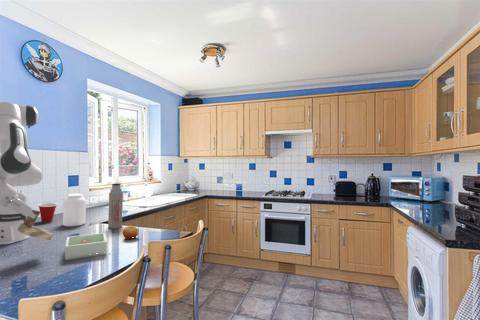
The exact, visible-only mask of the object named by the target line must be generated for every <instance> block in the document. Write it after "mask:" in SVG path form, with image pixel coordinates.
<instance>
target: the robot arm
mask: <svg viewBox="0 0 480 320" xmlns="http://www.w3.org/2000/svg"><path fill="white" fill-rule="evenodd" d="M39 118H40V115H39V112H38V110H37V108H36V106H32V105H29V104H27V105H25V104H19V103H13V102H11V101H0V245H9V244H13V243H16V242H20V241H25V240H27V239H30V237H31V236H29V235H24V234H21V233H20V232H19V231H17V229H18V227H19V226H20V224H21V223H24V221H25V219H26V218H27V216H29V217H31V218H32V219H34V218H35V217H36V215H35V214H34V213H33V212H32V211H33V209H34V208H32V207H31V206H29V204H28V199H27V196H25V195H24V194H22V193H19V191H18V189H17V188H16V187H28V186H33V185H38V184H40V183H41V182H42V181H43V178H44V174H43V171H42V170H41V168H40V167H38V166H36V164H34V163H33V162H32V160H31V156H30V154H29V147H28V146H29V145H28V132H27V128H28V129H30V128H31V127H33V126H36V125H37V124H38V121H39ZM26 126H27V128H26Z"/></svg>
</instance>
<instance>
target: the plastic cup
mask: <svg viewBox="0 0 480 320" xmlns="http://www.w3.org/2000/svg"><path fill="white" fill-rule="evenodd" d="M37 206H38V209H39V211H40V214H39V216H40V219H41V223H51V222H53V219H54V217H55V216H54V215H55V211H56V208H57V206H58V203H56V202H43V203H38V204H37Z"/></svg>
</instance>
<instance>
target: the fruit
mask: <svg viewBox="0 0 480 320" xmlns="http://www.w3.org/2000/svg"><path fill="white" fill-rule="evenodd" d="M122 236H123V238H124V237H125V238H124V239H126V240H128V241H130V240H134V239H136V238H137V237H138V236H139V229H138V228H137V226H134V225H128V226H125V227H124V228H123V229H122ZM136 236H137V237H136ZM132 237H134V238H132Z"/></svg>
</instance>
